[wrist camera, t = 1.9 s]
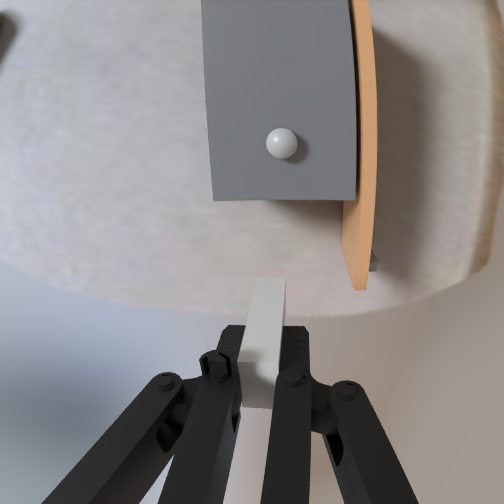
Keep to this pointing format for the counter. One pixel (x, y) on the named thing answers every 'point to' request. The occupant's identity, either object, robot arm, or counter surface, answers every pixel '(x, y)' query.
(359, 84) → the door
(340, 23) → the camera housing
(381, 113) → the counter surface
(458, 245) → the counter surface
